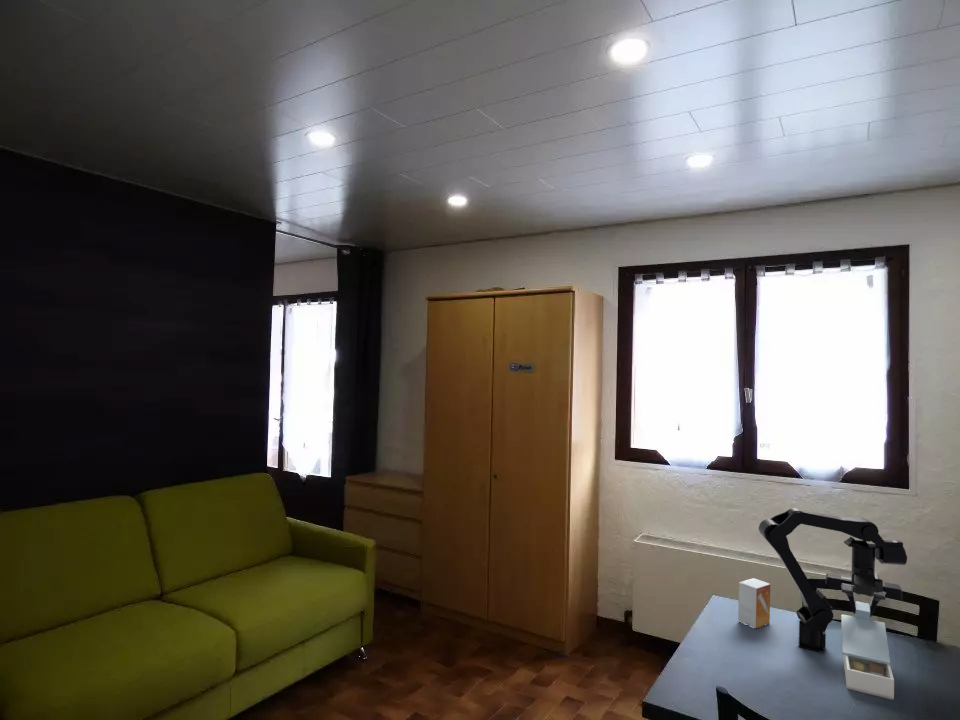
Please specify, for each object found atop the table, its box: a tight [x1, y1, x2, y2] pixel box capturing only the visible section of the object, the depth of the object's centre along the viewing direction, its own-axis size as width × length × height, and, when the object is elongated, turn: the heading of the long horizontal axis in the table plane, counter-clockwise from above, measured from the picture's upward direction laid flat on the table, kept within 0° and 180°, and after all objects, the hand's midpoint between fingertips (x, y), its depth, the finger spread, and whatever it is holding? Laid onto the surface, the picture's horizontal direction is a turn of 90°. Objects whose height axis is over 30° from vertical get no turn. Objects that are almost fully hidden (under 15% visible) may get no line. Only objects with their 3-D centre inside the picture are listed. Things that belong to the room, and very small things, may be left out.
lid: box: [840, 600, 891, 666], centre depth 166 cm, size 11×20×4 cm, turn 150°
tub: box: [843, 654, 895, 701], centre depth 157 cm, size 10×16×5 cm, turn 151°
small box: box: [737, 577, 771, 629], centre depth 190 cm, size 8×6×13 cm
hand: (862, 615), depth 173 cm, fingers closed on lid, 3 cm apart
